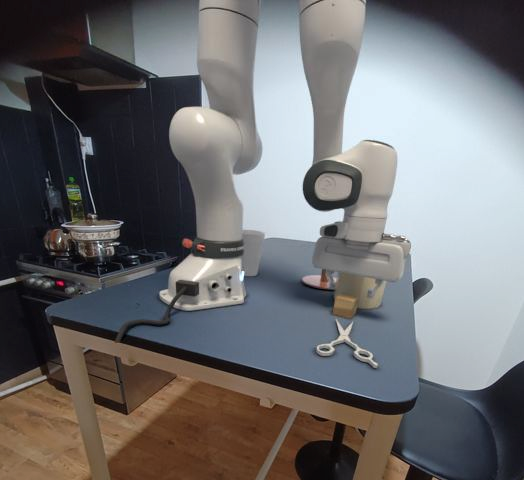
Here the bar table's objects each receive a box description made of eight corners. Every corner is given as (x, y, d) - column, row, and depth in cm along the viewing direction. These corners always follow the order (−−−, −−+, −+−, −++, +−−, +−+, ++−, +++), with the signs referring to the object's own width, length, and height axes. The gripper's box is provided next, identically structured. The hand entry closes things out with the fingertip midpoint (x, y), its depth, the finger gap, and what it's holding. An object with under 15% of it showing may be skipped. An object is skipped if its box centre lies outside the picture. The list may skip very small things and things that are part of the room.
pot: (364, 312, 79) (372, 278, 75) (324, 297, 87) (329, 267, 83) (389, 303, 87) (397, 272, 83) (350, 290, 95) (356, 262, 91)
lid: (327, 294, 91) (331, 274, 88) (292, 282, 99) (295, 264, 96) (354, 287, 99) (358, 269, 96) (320, 276, 107) (322, 259, 105)
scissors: (315, 355, 56) (321, 314, 73) (315, 358, 56) (320, 317, 73) (377, 365, 54) (368, 321, 71) (376, 369, 54) (367, 324, 72)
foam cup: (263, 271, 108) (266, 231, 102) (260, 278, 100) (263, 235, 94) (235, 268, 109) (237, 228, 102) (230, 275, 100) (231, 232, 94)
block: (349, 318, 75) (353, 301, 73) (332, 314, 77) (335, 296, 75) (355, 313, 78) (359, 296, 76) (338, 309, 80) (341, 292, 78)
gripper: (416, 235, 66) (399, 299, 72) (324, 224, 75) (316, 282, 81) (410, 238, 61) (393, 306, 67) (313, 226, 70) (306, 287, 77)
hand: (350, 293), depth 74 cm, fingers open, 8 cm apart
